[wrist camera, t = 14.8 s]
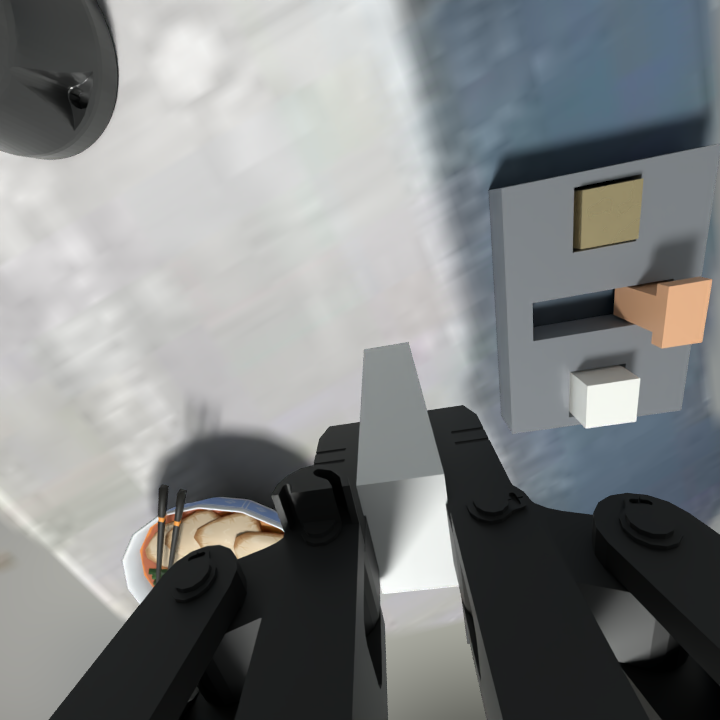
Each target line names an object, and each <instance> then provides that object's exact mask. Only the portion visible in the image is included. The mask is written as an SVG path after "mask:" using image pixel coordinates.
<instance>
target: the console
mask: <svg viewBox="0 0 720 720" xmlns="http://www.w3.org/2000/svg"><path fill="white" fill-rule="evenodd" d="M719 157H720V144H715V145H710V146H704V147H699V148H693V149H688V150H683V151H678V152H673V153H668V154H663V155H658V156H653V157H648V158H644V159H639V160H634V161H629V162H624V163H619V164H614V165H609V166H605V167H600V168H595V169H590V170H585V171H580V172H575V173H570V174H566V175H561V176H556V177H551V178H546V179H541V180H536V181H531V182H526V183H522V184H517V185H512V186H507V187H502V188H497V189H492V190H489V206H490V223H491V241H492V259H493V277H494V294H495V312H496V330H497V348H498V365H499V383H500V401H501V416H502V418H503V419H504V421H505V423H506V424H507V426H508V428H509V429H510V431H511V432H512V434H516V433H523V432H530V431H537V430H544V429H551V428H558V427H566V426H573V425H580V424H581V423H580V422H579V421H578V420H577V419H576V418H575V417H574V416H573V415H572V414H571V413H570V412H569V396H570V372H573V371H580V370H586V369H593V368H599V367H606V366H612V365H620V366H622V367H624V368H625V369H627V370H628V371H630V372H631V373H633V374H635V375H636V376H638V377H639V378H640V388H639V398H638V408H637V416H644V415H651V414H658V413H665V412H672V411H680V410H681V408H682V401H683V395H684V388H685V381H686V375H687V368H688V362H689V355H690V348H691V344H688V345H681V346H675V347H669V348H662V349H661V348H659V347H657V346H655V345H653V344H651V340H652V332H651V331H649V330H647V329H644V328H642V327H640V326H638V325H635V324H633V323H631V322H629V321H626V320H624V319H622V318H620V317H617V316H615V315H613V314H609V315H603V316H597V317H591V318H585V319H579V320H573V321H567V322H561V323H555V324H549V325H543V326H537V327H533V303H536V302H541V301H547V300H553V299H559V298H564V297H570V296H576V295H582V294H588V293H593V292H599V291H605V290H611V289H616V288H622V287H628V286H634V285H639V284H645V283H651V282H657V281H666V282H670V281H676V280H682V279H688V278H694V277H701V276H702V269H703V263H704V256H705V249H706V243H707V236H708V230H709V223H710V216H711V210H712V203H713V197H714V190H715V183H716V177H717V170H718V164H719ZM642 178H644V180H643V191H642V203H641V215H640V226H639V238H638V239H634V240H628V241H623V242H618V243H612V244H607V245H601V246H596V247H591V248H585V249H577V248H573V216H574V187H579V186H584V185H589V184H594V183H599V182H604V181H609V180H614V181H623V180H633V179H642Z"/></svg>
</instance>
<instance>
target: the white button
mask: <svg viewBox="0 0 720 720" xmlns="http://www.w3.org/2000/svg"><path fill="white" fill-rule="evenodd" d="M639 388H640V378H639V377H638V376H636V375H635V374H633V373H631V372H630V371H628V370H627V369H625V368H624V367H622V366H620V365H612V366H606V367H599V368H593V369H586V370H580V371H573V372H570V396H569V412H570V413H571V414H572V415H573V416H574V417H575V418H576V419H577V420H578V421H579V422H580V423H581V424H582V425H583V426H584V427H585V428H592V427H600V426H607V425H614V424H621V423H628V422H636V417H637V408H638V398H639Z"/></svg>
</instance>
